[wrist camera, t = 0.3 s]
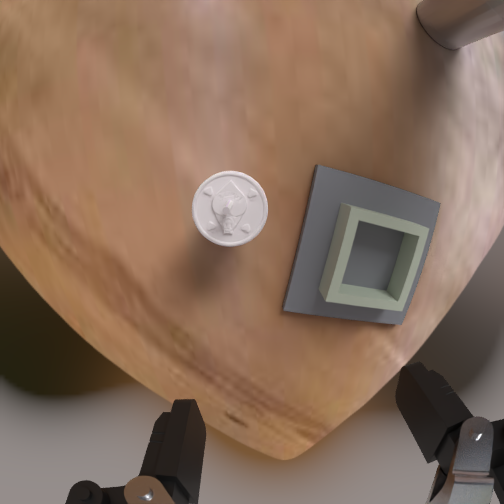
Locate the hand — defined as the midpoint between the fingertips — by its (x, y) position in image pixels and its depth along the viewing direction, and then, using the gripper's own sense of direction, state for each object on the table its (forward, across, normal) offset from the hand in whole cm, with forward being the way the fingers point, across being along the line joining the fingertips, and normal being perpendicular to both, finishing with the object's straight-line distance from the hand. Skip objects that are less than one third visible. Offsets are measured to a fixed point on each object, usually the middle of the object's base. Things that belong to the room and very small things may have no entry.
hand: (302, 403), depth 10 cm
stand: (+26, -13, +3) cm, 29 cm away
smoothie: (+26, +3, -5) cm, 26 cm away
